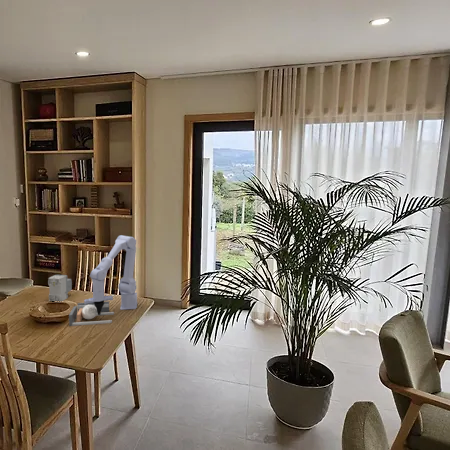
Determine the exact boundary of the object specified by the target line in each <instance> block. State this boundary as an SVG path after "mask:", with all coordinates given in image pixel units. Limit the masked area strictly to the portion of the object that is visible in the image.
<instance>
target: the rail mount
mask: <svg viewBox="0 0 450 450" xmlns="http://www.w3.org/2000/svg"><path fill="white" fill-rule="evenodd" d="M86 305H94V303H87V304H84V302H78V303H77V305H76V306H75V305H74V306H73V307H72V309H71V311H70V312H69V314H68V326H69V327H73V326H85V325H86V326H89V325H100V324H101V325H102V324H103V325H104V324H112V323H113V320H112V319H108V320H98V321H97V320H95V321H81V322H77V313H78V311H79V309H80V308H84V307H85V306H86ZM94 306H95V305H94ZM95 307H96V306H95ZM113 315H115V312H114V311H110V300H107V301H104V305H103V307H102V310H101V314H100V315H98V312H97V314H96V316H98V317H99V316H113ZM96 316H95V317H96ZM75 321H76V322H75Z"/></svg>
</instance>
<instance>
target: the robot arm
mask: <svg viewBox="0 0 450 450" xmlns="http://www.w3.org/2000/svg"><path fill="white" fill-rule="evenodd" d="M114 243H115V244H114V245H113V247H112V248H111V250H110V252H108V255H107V256H105V257H103V258H102V259H101V261H100V262H99V264H98V265H97V266H96V267H95V268H93V269H92V270H91V272H90V274H89V277H90V278H91V282H92V297H90V298H88V299H87V298H86V299H84V300H83V301H84V302H83V303H84V304H87V303H94V305H95V306H96V309H97V312H98V315H100V314H101V313H102V312H101V310H102V307H103V305H104V302H107V301H113V300H114V297H113V295H105V279H106V278H107V273H108V270H109V269H110V268H111V267H112V265H113V260H114V259H115V258H116V256H118V254H119V253H120V252H121V250H125V252H126V253H125V262H124V270H123V277H122V278H120V280H119V283H118V285H117V287H118V289H117V290H118V291H119V292H120V299H121V300H120V309H119V310H120V311H121V310H122V311H123V310H124V311H125V310H136V308H137V309H138V307H137V306H138V292H136V291H137V281H136V279H135V278H134V273H135V272H134V270H135V262H136V253H137V239H136V238H135V237H133V236H128V235H122V234H121V235H118V236H117V238H116V239H115V241H114ZM100 316H101V315H100Z"/></svg>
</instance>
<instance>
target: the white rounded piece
mask: <svg viewBox="0 0 450 450" xmlns="http://www.w3.org/2000/svg"><path fill="white" fill-rule="evenodd" d="M96 314H97V309H96V307H95V306H94V305H86V306H85V307H84V308H83V309H82V316H83V318H82V319H85V320H92V319H94V318H95V317H96Z"/></svg>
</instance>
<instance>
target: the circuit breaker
mask: <svg viewBox="0 0 450 450" xmlns="http://www.w3.org/2000/svg"><path fill="white" fill-rule="evenodd" d="M47 279H48V280H47V284H48V285H47V286H49V287H48V288H49V289H48V290H49V294H48V302H49V301H62V302H63V301H65V300H67V299H68V298H69V294H68V293H69V292H71V291H72V290H73V289H72V287H73V286H72V285H73V284H72V283H73V282H72V278H68V275H66V274H55V275H52V276H50V277H48V278H47Z"/></svg>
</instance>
